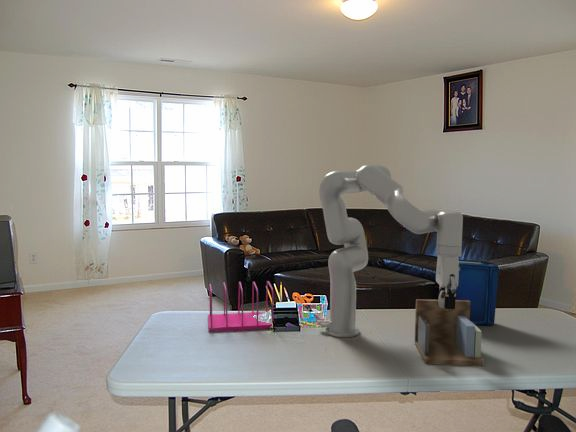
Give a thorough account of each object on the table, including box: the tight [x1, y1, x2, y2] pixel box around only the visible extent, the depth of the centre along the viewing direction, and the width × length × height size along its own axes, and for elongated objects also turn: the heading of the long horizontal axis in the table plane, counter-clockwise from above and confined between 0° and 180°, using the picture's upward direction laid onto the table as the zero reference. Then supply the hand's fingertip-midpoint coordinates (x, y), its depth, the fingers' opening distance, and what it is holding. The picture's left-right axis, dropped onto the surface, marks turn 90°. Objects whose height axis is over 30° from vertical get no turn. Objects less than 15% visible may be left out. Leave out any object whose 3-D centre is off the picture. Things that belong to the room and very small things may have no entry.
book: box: [448, 259, 500, 327], centre depth 195 cm, size 22×7×25 cm, turn 84°
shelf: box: [414, 298, 485, 367], centre depth 163 cm, size 18×18×16 cm
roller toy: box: [438, 290, 451, 310], centre depth 158 cm, size 4×6×6 cm
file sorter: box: [207, 280, 275, 333], centre depth 193 cm, size 17×25×16 cm
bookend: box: [418, 315, 430, 356], centre depth 163 cm, size 1×11×10 cm, turn 177°
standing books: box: [456, 316, 483, 358], centre depth 162 cm, size 5×11×10 cm, turn 177°
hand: (446, 305), depth 158 cm, fingers closed on roller toy, 6 cm apart
